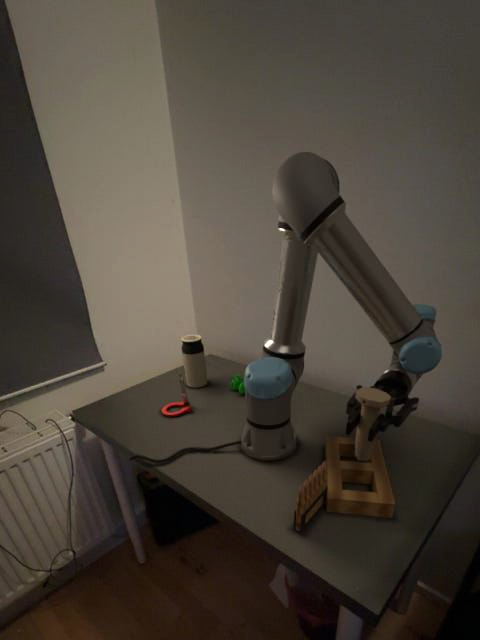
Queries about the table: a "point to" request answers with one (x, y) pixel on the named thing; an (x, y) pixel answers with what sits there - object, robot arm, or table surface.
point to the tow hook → (184, 403)
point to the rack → (357, 480)
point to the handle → (368, 419)
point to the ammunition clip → (311, 498)
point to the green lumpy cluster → (238, 384)
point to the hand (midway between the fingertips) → (359, 432)
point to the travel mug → (194, 361)
